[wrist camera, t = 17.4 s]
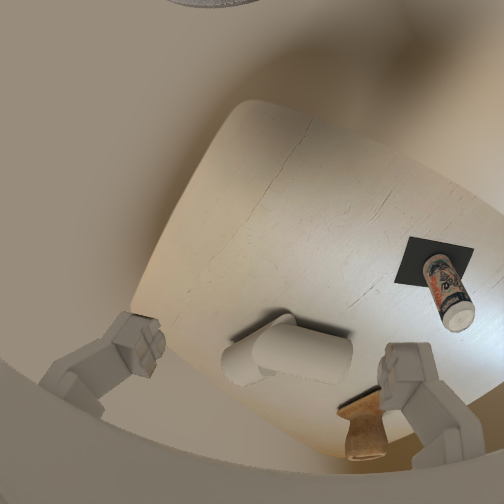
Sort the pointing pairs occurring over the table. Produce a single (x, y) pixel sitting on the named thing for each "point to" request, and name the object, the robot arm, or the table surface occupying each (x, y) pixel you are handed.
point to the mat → (422, 251)
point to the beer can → (449, 294)
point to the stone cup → (365, 429)
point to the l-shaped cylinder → (287, 354)
